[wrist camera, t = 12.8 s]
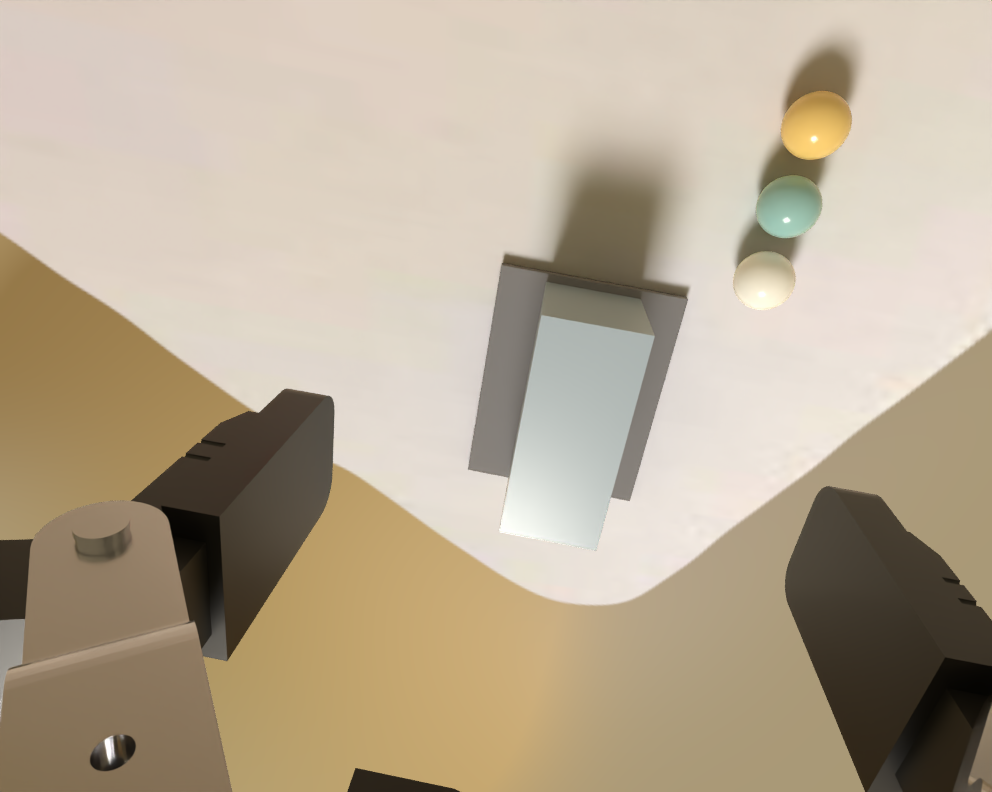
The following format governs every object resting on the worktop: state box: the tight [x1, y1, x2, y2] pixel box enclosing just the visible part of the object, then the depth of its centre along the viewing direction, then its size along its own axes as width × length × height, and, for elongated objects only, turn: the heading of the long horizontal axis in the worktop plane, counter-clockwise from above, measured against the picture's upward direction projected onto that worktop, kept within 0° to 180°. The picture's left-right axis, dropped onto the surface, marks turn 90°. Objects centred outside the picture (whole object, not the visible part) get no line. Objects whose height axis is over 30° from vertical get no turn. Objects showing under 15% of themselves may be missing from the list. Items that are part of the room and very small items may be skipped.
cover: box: [499, 282, 655, 551], centre depth 38 cm, size 13×6×7 cm, turn 171°
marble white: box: [733, 251, 796, 310], centre depth 36 cm, size 3×3×3 cm
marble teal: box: [756, 175, 822, 238], centre depth 34 cm, size 3×3×3 cm
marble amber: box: [781, 91, 852, 160], centre depth 33 cm, size 3×3×3 cm
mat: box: [468, 263, 688, 501], centre depth 41 cm, size 14×11×1 cm
